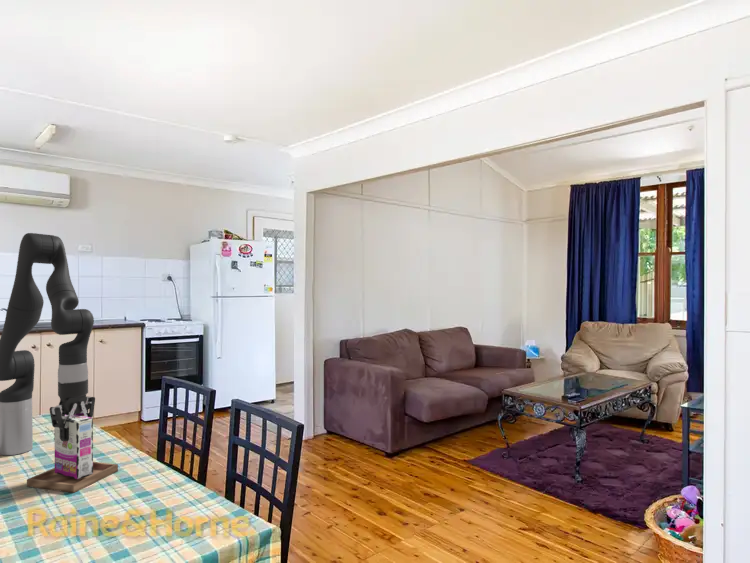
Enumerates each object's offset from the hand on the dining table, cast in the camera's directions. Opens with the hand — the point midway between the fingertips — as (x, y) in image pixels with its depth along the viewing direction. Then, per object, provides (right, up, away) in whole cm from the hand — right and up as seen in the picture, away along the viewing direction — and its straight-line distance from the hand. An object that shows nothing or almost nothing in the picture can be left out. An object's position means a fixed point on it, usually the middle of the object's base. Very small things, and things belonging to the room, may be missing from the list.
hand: (73, 437), depth 149 cm
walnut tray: (0, -12, 0) cm, 12 cm away
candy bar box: (0, -11, 0) cm, 11 cm away
